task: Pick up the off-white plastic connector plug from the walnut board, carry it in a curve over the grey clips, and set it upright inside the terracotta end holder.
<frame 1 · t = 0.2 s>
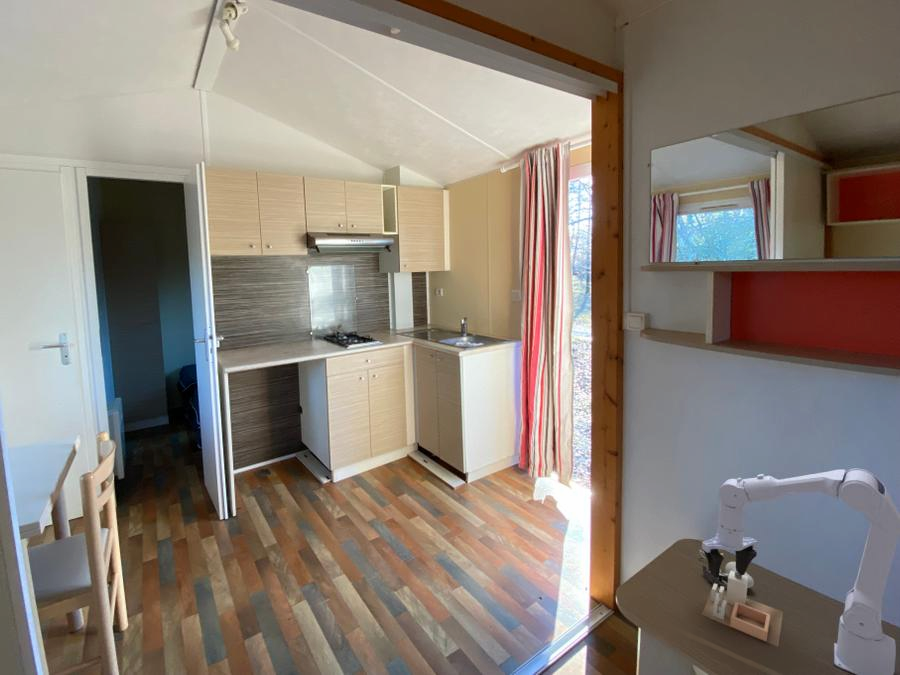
hand: (727, 574, 119), 9 cm above the table, tool pointing down, fingers open, 7 cm apart
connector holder: (749, 628, 112), resting on route board
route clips: (719, 610, 118), resting on route board
clip-on lamp: (721, 577, 132), on the table
route board: (742, 616, 116), on the table
connector plug: (736, 601, 120), point 1 cm above the table, touching route board
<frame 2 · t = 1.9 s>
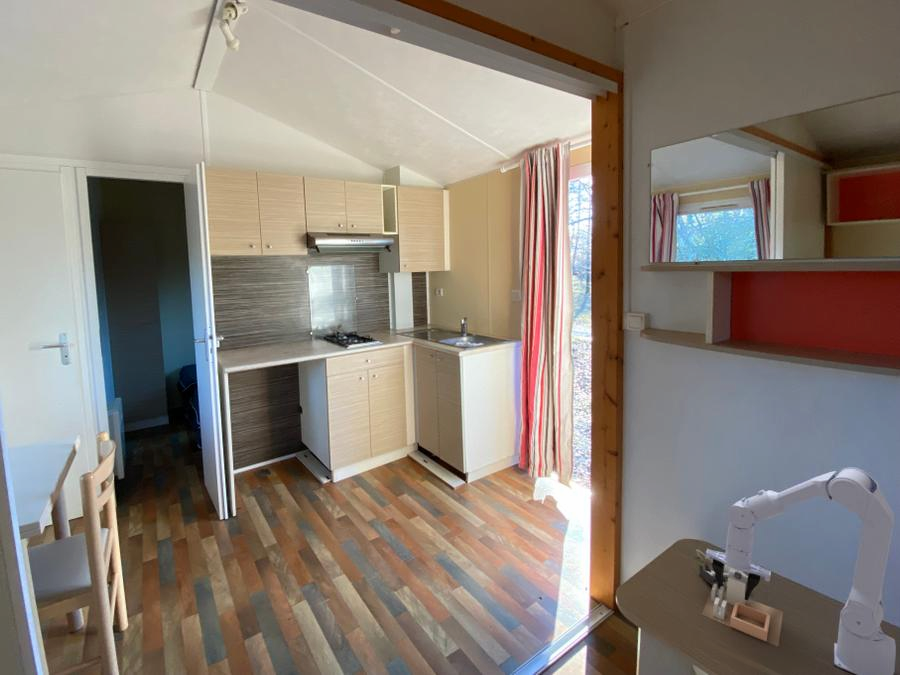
hand: (733, 592, 121), 3 cm above the table, tool pointing down, fingers open, 5 cm apart
connector plug: (735, 601, 120), point 1 cm above the table, touching gripper, route board
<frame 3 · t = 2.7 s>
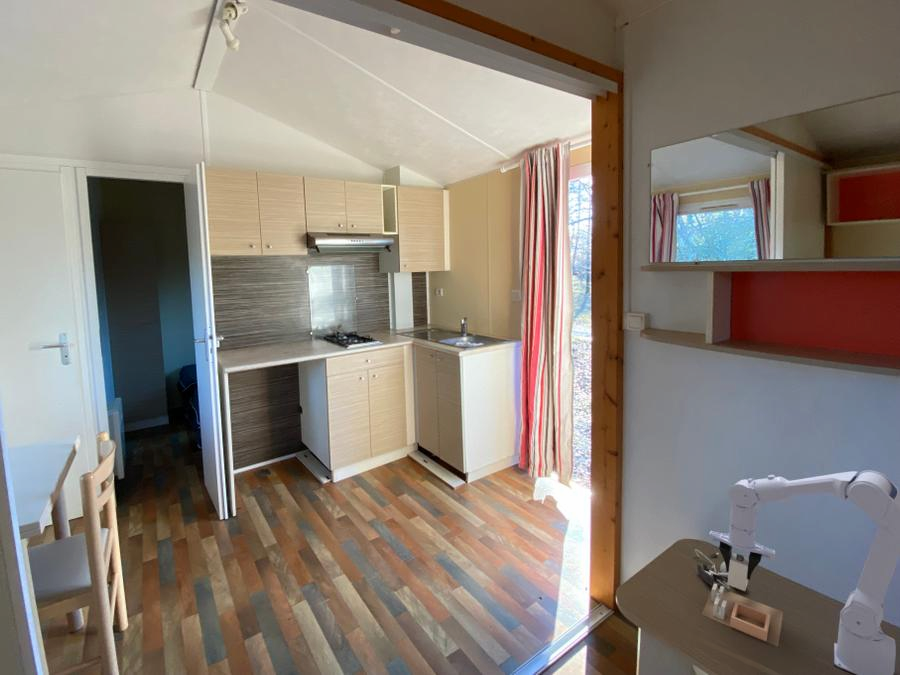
hand: (738, 574, 119), 9 cm above the table, tool pointing down, fingers closed on connector plug, 4 cm apart
connector plug: (737, 584, 120), point 6 cm above the table, touching gripper
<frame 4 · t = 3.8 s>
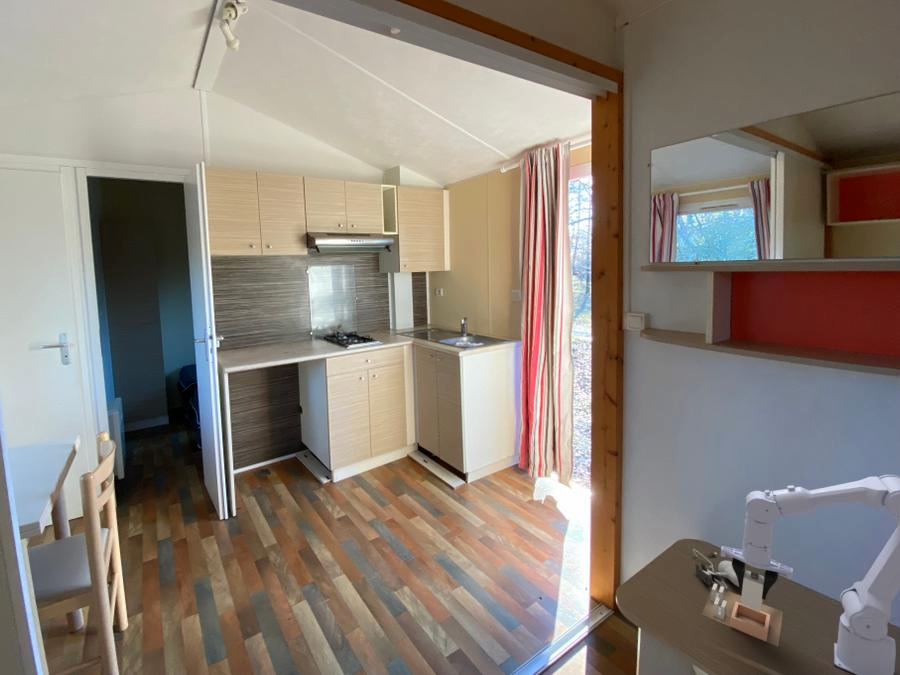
hand: (752, 593, 111), 10 cm above the table, tool pointing down, fingers closed on connector plug, 4 cm apart
connector plug: (751, 603, 111), point 7 cm above the table, touching gripper
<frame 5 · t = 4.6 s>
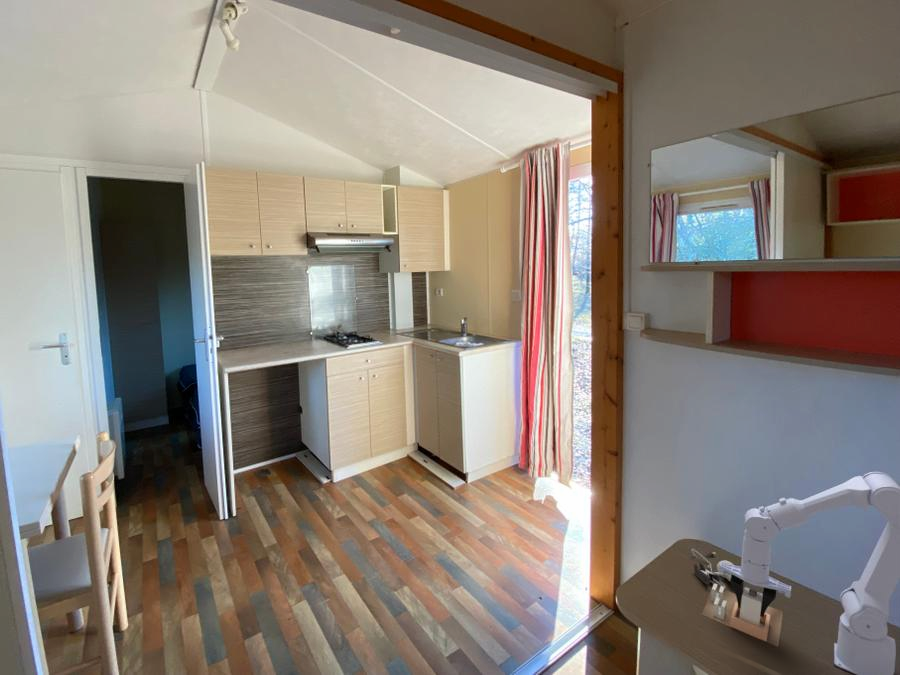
hand: (751, 610, 111), 5 cm above the table, tool pointing down, fingers closed on connector plug, 4 cm apart
connector plug: (749, 620, 112), point 2 cm above the table, touching gripper
when the fingers open (5 cm above the table, at t = 5.1 s): connector plug drops 1 cm, resting on route board.
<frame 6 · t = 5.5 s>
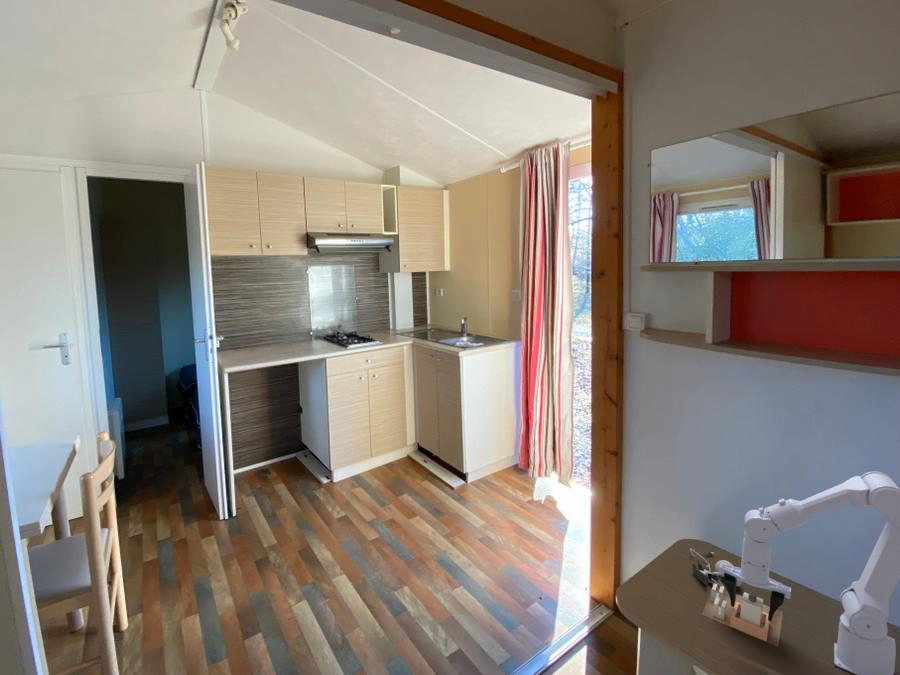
hand: (751, 611, 111), 5 cm above the table, tool pointing down, fingers open, 7 cm apart
connector plug: (750, 625, 112), point 1 cm above the table, touching route board
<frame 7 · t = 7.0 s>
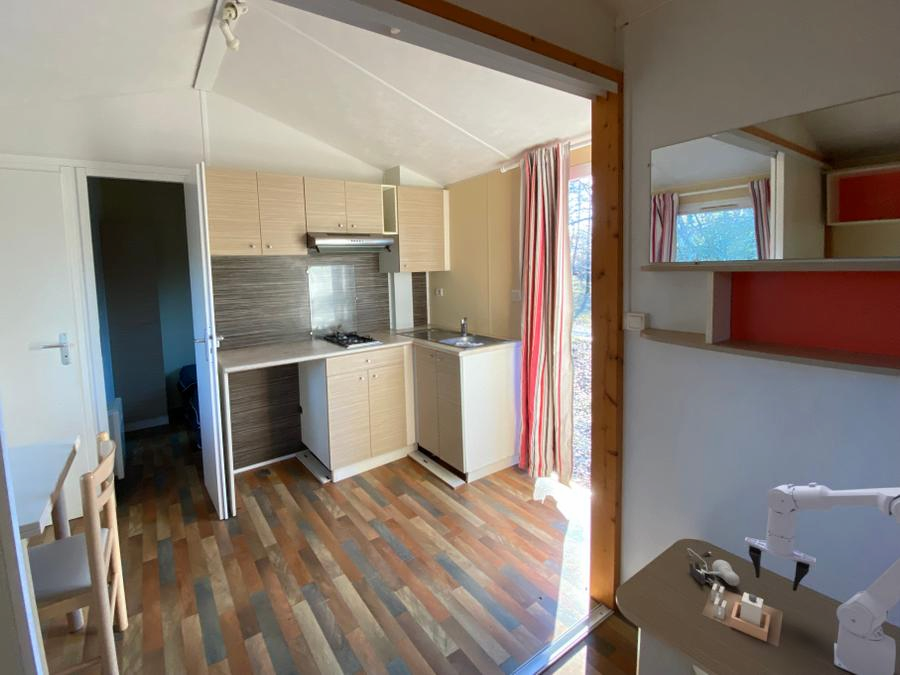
hand: (775, 582, 115), 9 cm above the table, tool pointing down, fingers open, 7 cm apart
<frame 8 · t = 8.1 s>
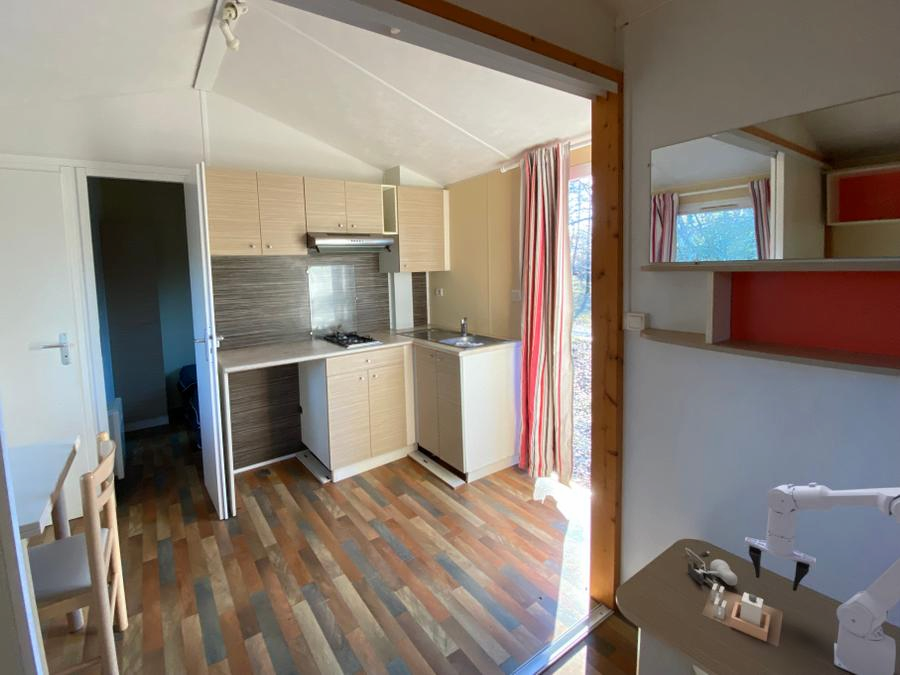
hand: (775, 582, 115), 9 cm above the table, tool pointing down, fingers open, 7 cm apart
at the end: connector plug 0.3 cm off-centre on the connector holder, point 1.0 cm above the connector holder's base; connector plug tilted 0°; the gripper is holding nothing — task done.
